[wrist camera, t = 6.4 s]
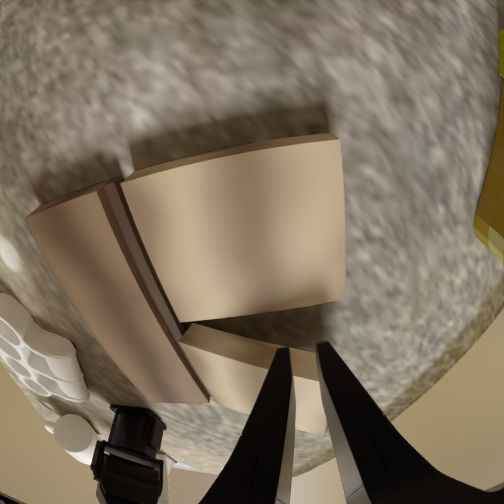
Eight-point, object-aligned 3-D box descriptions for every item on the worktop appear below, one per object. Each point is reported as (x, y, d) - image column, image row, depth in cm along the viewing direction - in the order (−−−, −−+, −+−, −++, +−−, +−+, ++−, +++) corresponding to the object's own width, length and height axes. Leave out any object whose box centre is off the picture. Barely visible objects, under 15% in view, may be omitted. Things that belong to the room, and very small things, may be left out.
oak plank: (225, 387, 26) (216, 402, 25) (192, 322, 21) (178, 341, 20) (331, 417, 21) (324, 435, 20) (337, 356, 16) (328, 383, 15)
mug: (97, 421, 37) (86, 458, 31) (108, 438, 43) (100, 469, 36) (43, 400, 36) (31, 433, 29) (59, 419, 41) (50, 449, 35)
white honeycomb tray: (95, 397, 32) (18, 362, 30) (74, 320, 23) (-20, 276, 20) (89, 416, 29) (10, 378, 27) (60, 345, 20) (-35, 294, 18)
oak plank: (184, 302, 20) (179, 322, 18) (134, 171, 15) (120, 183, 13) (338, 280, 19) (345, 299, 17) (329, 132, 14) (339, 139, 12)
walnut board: (153, 386, 27) (149, 401, 26) (40, 205, 16) (24, 218, 14) (218, 386, 27) (217, 402, 25) (122, 175, 15) (107, 187, 13)
